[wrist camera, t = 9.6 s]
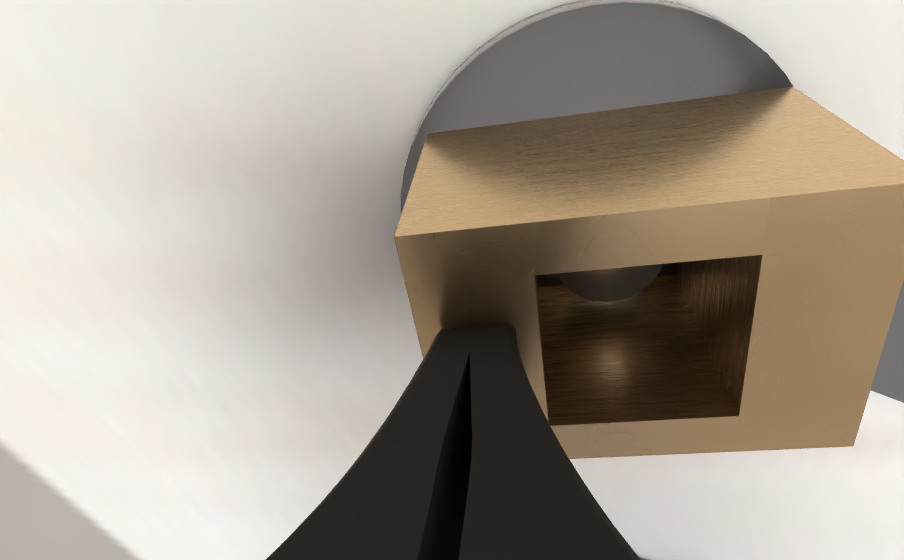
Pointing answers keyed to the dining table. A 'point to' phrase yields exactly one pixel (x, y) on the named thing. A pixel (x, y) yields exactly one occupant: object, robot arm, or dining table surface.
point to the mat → (892, 357)
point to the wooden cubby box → (670, 241)
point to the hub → (596, 86)
